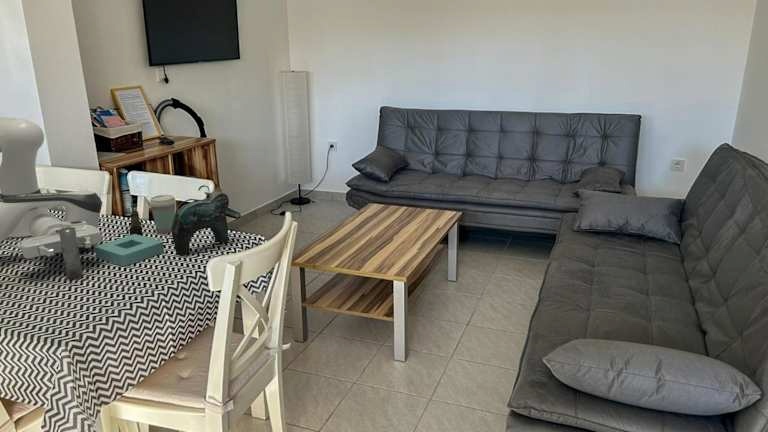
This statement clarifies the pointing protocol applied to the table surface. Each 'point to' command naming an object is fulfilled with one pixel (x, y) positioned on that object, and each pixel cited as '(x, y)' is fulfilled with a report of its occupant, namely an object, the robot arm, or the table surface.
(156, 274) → the table surface
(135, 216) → the hand tool
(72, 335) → the table surface
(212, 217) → the ceramic cat
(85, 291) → the table surface
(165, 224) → the coffee cup
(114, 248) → the socket block
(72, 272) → the steel pin
